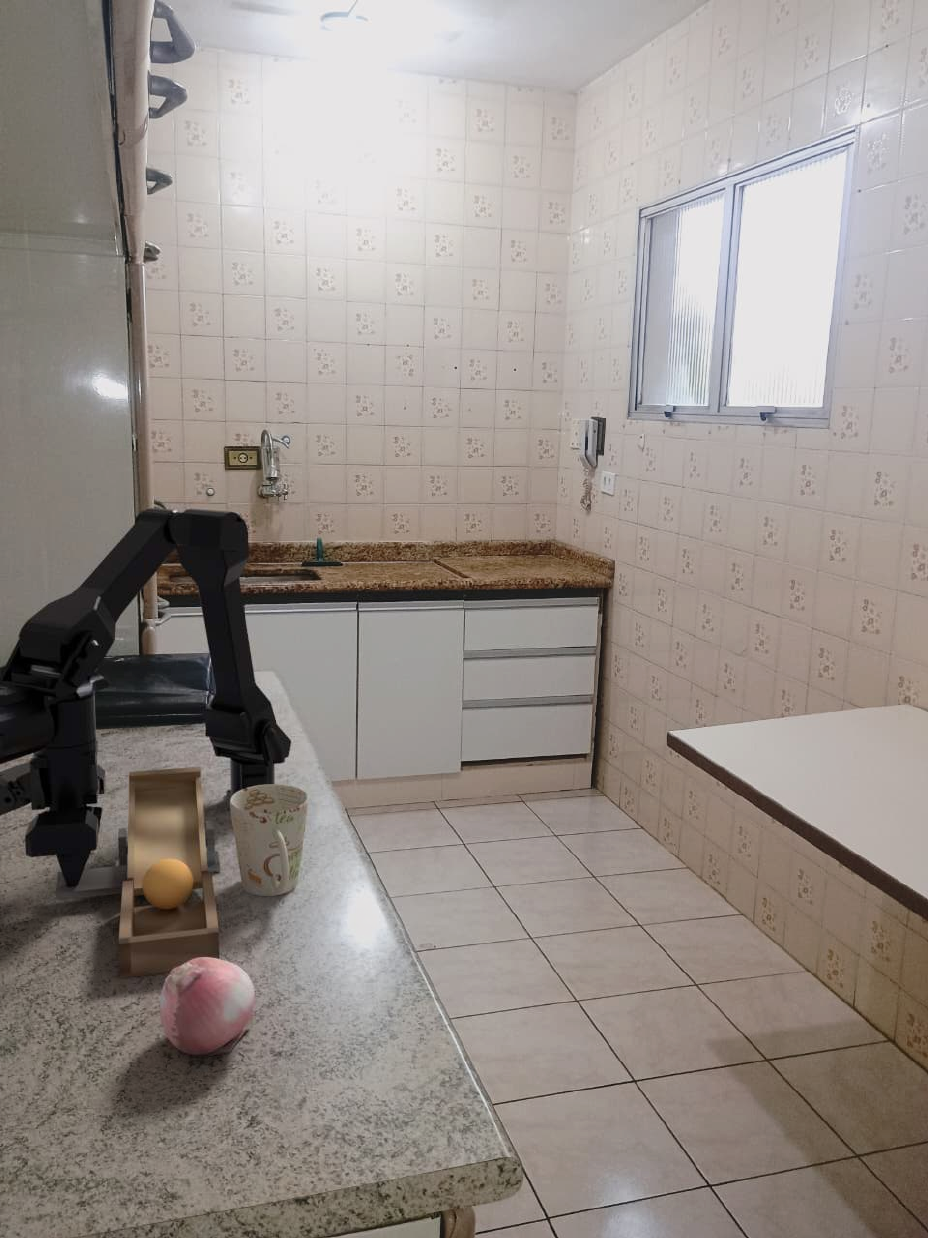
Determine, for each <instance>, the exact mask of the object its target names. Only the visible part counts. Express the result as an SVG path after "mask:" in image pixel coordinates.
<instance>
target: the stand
mask: <svg viewBox="0 0 928 1238" xmlns="http://www.w3.org/2000/svg"><path fill="white" fill-rule="evenodd" d="M214 824H215V823H214V820H206V821H205V827H206V828H205V842H206V856H207V870H208V873H212V874H214V873H221V863H220V855H219V850H216V846H215V845H216V844H215V843H216V842H215V825H214ZM117 841H118V842H117V843H118V845H117V847H118V859H116V860H115V865H114V866H122V865H128V830H127V827H124V828H118V835H117Z"/></svg>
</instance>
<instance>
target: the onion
mask: <svg viewBox="0 0 928 1238" xmlns="http://www.w3.org/2000/svg"><path fill="white" fill-rule="evenodd" d="M255 992H256V991H255V987H254V984H253V982H252V980H251V978H250V976H249V974H248V973H247V972H245V971H244V969H242V968H241V967H239V966H238V965H236V964H235V963H232V962H229V961H227V960H223V959H220V958H219V959H216V958H210V957H199V958H194V959H192V960H190V961H188V962H186V963H184V964H183V965H180V966H179V967H176V968H174V969H173V970H172V971H171V972H169V974H168V976H167V977H165V979H164V983H163V986H162V990H161V994H160V997H159V1005H158V1006H159V1009H158V1010H159V1017H160V1021H161V1025H162V1027H163V1029H164V1032H165V1034H166V1037H167V1039H168V1040H169V1041H170V1042H171V1044H172V1045H173V1046H174V1047H175V1048H177V1049H178V1050H179V1051H181V1052H182V1053H185V1054H189V1055H192V1056H194V1057H197V1058H204V1057H205V1058H206V1057H210V1056H217V1055H222V1054H229V1053H231V1051H232V1049H234V1047H235V1045H236V1044H237V1043H238V1041H239V1040H240V1039H241V1037H242V1036H243V1035H244V1033H245V1032H246V1030H247V1029H248V1028H249V1026H250V1025H251V1024H252V1022H253V1021H254V1020H255V1018H256V1017H255V1016H254V1014H253V1012H254V1007H255V1003H256V993H255Z"/></svg>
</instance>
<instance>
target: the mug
mask: <svg viewBox="0 0 928 1238" xmlns="http://www.w3.org/2000/svg"><path fill="white" fill-rule="evenodd" d="M308 810H309V795H308V794H307V792H306V791H304V789H301V788H299V787H296V786H292V785H289V784H288V785H287V784H276V783H275V784H267V785H258V786H253V787H248V788H245V789H242V790H240V791H238V792H236V793H235V794H234V795H233V796H232V797H231V799H230V810H229V811H230V817H231V823H232V829H233V836H234V837H233V838H234V842H235V850H236V854H237V855H236V856H237V861H238V867H239V868H238V869H239V875H240V881H241V886H242V889H243V890H244V891H245V892H247V893H248V894H251V895H254V896H260V897H274V896H280V895H284V894H287V893H289V892H291V891H292V890H294V889H295V888H296V887H297V885H298V883H299V876H300V869H301V864H302V863H301V862H302V855H303V854H302V853H303V848H304V847H303V846H304V841H305V831H306V826H307V817H308Z"/></svg>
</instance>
